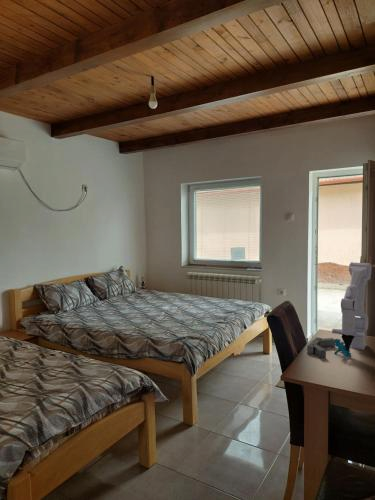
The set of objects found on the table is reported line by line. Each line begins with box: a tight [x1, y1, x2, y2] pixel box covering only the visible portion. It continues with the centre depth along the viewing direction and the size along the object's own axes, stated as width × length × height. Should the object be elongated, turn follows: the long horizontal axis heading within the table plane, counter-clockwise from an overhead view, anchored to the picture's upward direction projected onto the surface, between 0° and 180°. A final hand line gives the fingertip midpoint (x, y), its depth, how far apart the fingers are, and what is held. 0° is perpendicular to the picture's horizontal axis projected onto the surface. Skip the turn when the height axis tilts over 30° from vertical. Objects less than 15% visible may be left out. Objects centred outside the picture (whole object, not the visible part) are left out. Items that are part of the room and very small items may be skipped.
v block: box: [306, 336, 336, 360], centre depth 179 cm, size 23×9×4 cm, turn 144°
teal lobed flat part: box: [333, 338, 352, 358], centre depth 174 cm, size 11×6×10 cm
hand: (347, 350), depth 172 cm, fingers closed
